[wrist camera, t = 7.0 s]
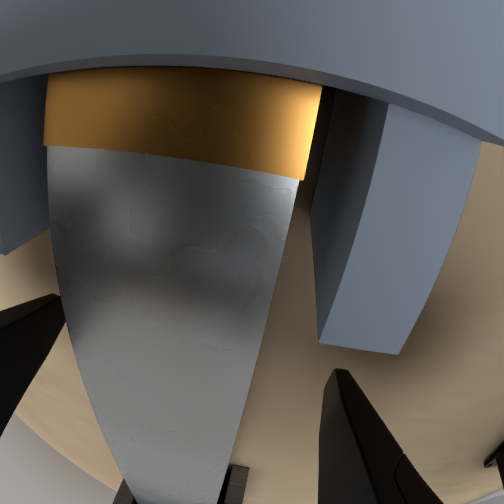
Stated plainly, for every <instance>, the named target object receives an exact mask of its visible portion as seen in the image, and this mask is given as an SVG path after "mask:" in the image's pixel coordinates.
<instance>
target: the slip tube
mask: <svg viewBox="0 0 504 504" xmlns="http://www.w3.org/2000/svg"><path fill="white" fill-rule="evenodd" d="M321 91H322V86H320V85H315V84H311V83H306V82H301V81H296V80H290V79H285V78H279V77H273V76H267V75H260V74H253V73H245V72H237V71H227V70H217V69H204V68H187V67H116V68H100V69H87V70H77V71H69V72H61V73H54V74H49V77H48V85H47V95H46V106H45V120H44V144H43V146H47V181H48V202H49V216H50V227H51V237H52V245H53V253H54V260H55V267H56V273H57V279H58V285H59V290H60V295H61V300H62V305H63V310H64V314H65V319H66V323H67V327H68V331H69V335H70V339H71V343H72V346H73V350H74V354H75V357H76V360H77V364H78V367H79V370H80V373H81V377H82V380H83V383H84V386H85V389H86V391H87V394H88V397H89V400H90V403H91V405H92V408H93V411H94V413H95V416H96V418H97V421H98V423H99V426H100V428H101V431H102V433H103V435H104V438H105V440H106V442H107V444H108V447H109V449H110V451H111V453H112V455H113V457H114V459H115V462H116V464H117V466H118V468H119V470H120V472H121V474H122V476H123V477H124V479H125V481H126V483H127V485H128V487H129V489H130V491H131V492H132V494H133V496H134V498H135V499H136V501H137V503H138V504H217V501H218V497H219V494H220V491H221V487H222V484H223V481H224V477H225V474H226V470H227V467H228V464H229V460H230V457H231V453H232V450H233V446H234V443H235V439H236V436H237V432H238V428H239V425H240V421H241V418H242V414H243V410H244V407H245V403H246V399H247V395H248V392H249V388H250V384H251V380H252V377H253V373H254V369H255V365H256V361H257V357H258V354H259V350H260V346H261V342H262V338H263V334H264V330H265V326H266V322H267V318H268V314H269V310H270V306H271V301H272V297H273V293H274V289H275V285H276V281H277V276H278V272H279V268H280V264H281V259H282V255H283V251H284V246H285V242H286V238H287V233H288V229H289V224H290V220H291V215H292V211H293V206H294V202H295V197H296V192H297V188H298V183H299V180H304V175H305V171H306V166H307V161H308V157H309V152H310V147H311V142H312V137H313V132H314V127H315V122H316V117H317V112H318V107H319V102H320V96H321Z"/></svg>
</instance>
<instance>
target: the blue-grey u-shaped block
mask: <svg viewBox="0 0 504 504" xmlns="http://www.w3.org/2000/svg"><path fill="white" fill-rule="evenodd" d="M148 65H164V66H193V67H208V68H220V69H230V70H239V71H248V72H255V73H262V74H269V75H275V76H281V77H287V78H292V79H298V80H303V81H308V82H312V83H317V84H321V85H326V86H330V87H334V88H337V89H336V95H335V100H334V105H333V110H332V115H331V120H330V125H329V130H328V135H327V140H326V144H325V149H324V154H323V158H322V163H321V167H320V172H319V176H318V181H317V185H316V190H315V194H314V198H313V203H312V207H311V211H310V225H311V236H312V248H313V260H314V273H315V288H316V305H317V324H318V343H322V344H328V345H334V346H340V347H346V348H353V349H359V350H366V351H373V352H380V353H388V354H395V355H398V354H399V352H400V350H401V349H402V347H403V345H404V343H405V342H406V340H407V338H408V336H409V334H410V332H411V331H412V329H413V327H414V325H415V323H416V321H417V319H418V317H419V315H420V313H421V311H422V309H423V307H424V305H425V303H426V301H427V299H428V297H429V295H430V292H431V290H432V288H433V286H434V284H435V281H436V279H437V277H438V275H439V272H440V270H441V268H442V265H443V263H444V260H445V258H446V255H447V253H448V250H449V248H450V245H451V243H452V240H453V237H454V235H455V232H456V229H457V226H458V223H459V220H460V218H461V215H462V212H463V209H464V205H465V202H466V199H467V196H468V192H469V189H470V186H471V182H472V179H473V175H474V171H475V167H476V163H477V159H478V155H479V151H480V147H481V142H482V141H485V142H489V143H493V144H497V145H501V146H504V0H0V254H3V255H5V256H6V255H7V254H9V253H10V252H12V251H13V250H15V249H16V248H18V247H19V246H21V245H22V244H24V243H26V242H27V241H29V240H30V239H32V238H34V237H35V236H37V235H38V234H40V233H42V232H43V231H45V230H47V229H48V228H50V216H49V202H48V181H47V146H43V144H44V120H45V106H46V95H47V85H48V77H49V74H54V73H61V72H69V71H77V70H87V69H100V68H116V67H148Z"/></svg>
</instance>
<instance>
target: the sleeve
mask: <svg viewBox="0 0 504 504" xmlns="http://www.w3.org/2000/svg"><path fill="white" fill-rule="evenodd" d="M248 471H249V468H245V467H240V466H235V465H233V467H232V470H231V473H230V476H229V479H228V482H227V485H226V488H225V491H224V494H223V497H222V500H221V503H220V504H242V502H243V497H244V492H245V487H246V482H247V476H248ZM113 504H138V503H137V501H136V499H135V498H134V496H133V494H132V492H131V491H130V489H129V487H128V485H127V483H126V481H125V479H124V478H123V481H122V483H121V485H120V488H119V490H118V492H117V495H116V497H115V499H114V501H113Z"/></svg>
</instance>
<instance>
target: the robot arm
mask: <svg viewBox="0 0 504 504" xmlns="http://www.w3.org/2000/svg"><path fill="white" fill-rule="evenodd" d="M65 322H66V319H65V314H64V310H63V305H62V300H61V296H59V295H56V294H53V293H52V294H49V295H46V296H43V297H40V298H37V299H34V300H31V301H28V302H25V303H22V304H19V305H16V306H14V307H11V308H8V309H5V310H2V311H0V437H1V435H2V433H3V431H4V429H5V427H6V425H7V423H8V422H9V420H10V418H11V416H12V414H13V412H14V411H15V409H16V407H17V405H18V404H19V402H20V400H21V398H22V397H23V395H24V393H25V392H26V390H27V388H28V386H29V385H30V383H31V381H32V380H33V378H34V377H35V375H36V373H37V372H38V370H39V369H40V367H41V365H42V364H43V362H44V361H45V359H46V357H47V356H48V354H49V352H50V350H51V348H52V346H53V345H54V343H55V341H56V339H57V337H58V335H59V333H60V331H61V329H62V328H63V326H64V324H65ZM493 466H498V470H499V473H500V477H501V481H502V484H503V488H504V445H503V446H502V447H501V448H500V449H499V450H498V451H497V452H496V453H495V454H494V455H492V456H491V457H490V458H489V459H488V460H487V461H485V462H484V468H488V467H493ZM318 504H444V503H443V502H442V501H441V500H440V499H439V498H438V496H437V495H436V494H435V493H434V492H433V491H432V489H431V488H430V487H429V486H428V485H427V483H426V482H425V481H424V480H423V478H422V477H421V476H420V475H419V473H418V472H417V471H416V469H415V468H414V466H413V465H412V464H411V462H410V461H409V459H408V458H407V456H406V455H405V454H403V450H402V449H401V447H400V446H399V444H398V443H397V441H396V440H395V438H394V437H393V436H392V434H391V433H390V431H389V430H388V428H387V427H386V425H385V424H384V422H383V421H382V419H381V418H380V416H379V415H378V413H377V412H376V410H375V409H374V407H373V406H372V405H371V403H370V402H369V400H368V399H367V397H366V396H365V394H364V393H363V391H362V390H361V388H360V387H359V386H358V384H357V383H356V381H355V380H354V378H353V377H352V375H351V374H350V372H349V371H348V370H346V369H339V368H335V369H334V370H333V371H332V373H331V375H330V377H329V379H328V381H327V383H326V385H325V388H324V394H323V404H322V413H321V422H320V430H319V480H318Z"/></svg>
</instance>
